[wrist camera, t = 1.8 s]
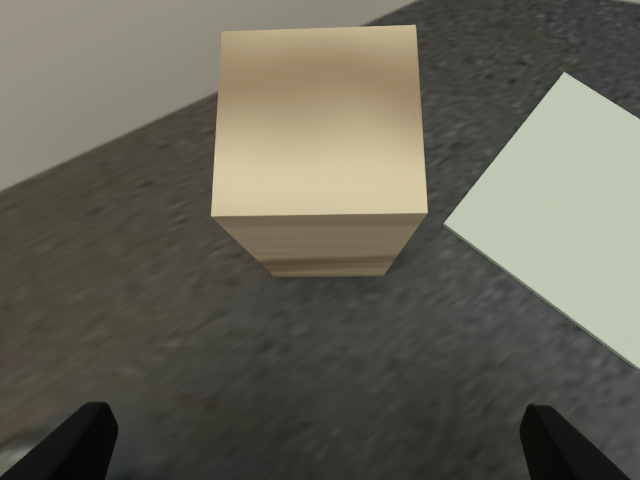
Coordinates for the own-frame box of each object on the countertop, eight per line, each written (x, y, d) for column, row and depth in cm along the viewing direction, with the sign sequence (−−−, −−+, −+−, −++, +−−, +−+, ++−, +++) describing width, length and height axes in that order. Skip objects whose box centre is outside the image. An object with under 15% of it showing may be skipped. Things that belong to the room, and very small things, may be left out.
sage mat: (749, 194, 23) (756, 192, 23) (634, 368, 22) (639, 368, 21) (560, 76, 25) (564, 72, 25) (442, 225, 24) (443, 223, 23)
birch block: (383, 276, 23) (427, 212, 12) (274, 277, 23) (211, 216, 12) (379, 174, 25) (415, 25, 13) (276, 175, 25) (221, 31, 13)
